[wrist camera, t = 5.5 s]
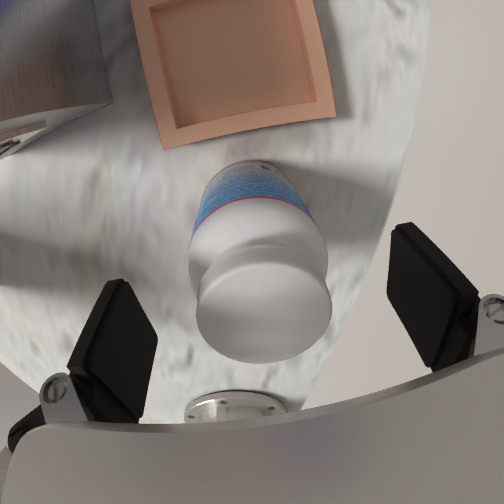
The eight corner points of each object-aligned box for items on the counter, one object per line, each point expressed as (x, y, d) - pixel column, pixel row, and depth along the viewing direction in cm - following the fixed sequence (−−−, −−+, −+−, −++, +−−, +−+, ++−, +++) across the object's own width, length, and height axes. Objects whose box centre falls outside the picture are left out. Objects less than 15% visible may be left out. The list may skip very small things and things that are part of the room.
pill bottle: (184, 192, 19) (134, 301, 9) (264, 140, 17) (306, 199, 8) (235, 258, 21) (238, 392, 12) (309, 216, 20) (373, 331, 10)
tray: (327, 114, 17) (336, 116, 15) (170, 145, 17) (163, 150, 15) (296, -23, 12) (302, -33, 10) (138, 8, 12) (129, 0, 11)
